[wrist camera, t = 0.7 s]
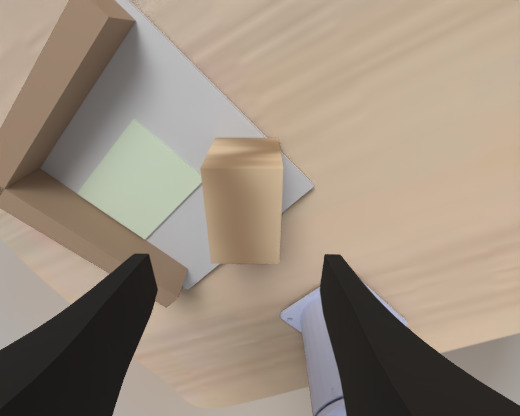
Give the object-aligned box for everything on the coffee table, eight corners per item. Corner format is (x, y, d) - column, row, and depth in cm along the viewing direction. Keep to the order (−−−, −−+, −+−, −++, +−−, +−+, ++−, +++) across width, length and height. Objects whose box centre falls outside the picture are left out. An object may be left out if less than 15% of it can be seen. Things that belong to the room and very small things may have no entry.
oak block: (278, 137, 18) (283, 168, 14) (276, 218, 21) (279, 264, 17) (215, 137, 18) (200, 168, 14) (221, 217, 21) (211, 263, 17)
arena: (313, 183, 20) (322, 209, 17) (188, 286, 25) (178, 320, 22) (118, -11, 15) (81, -24, 12) (10, 170, 20) (-35, 194, 17)
